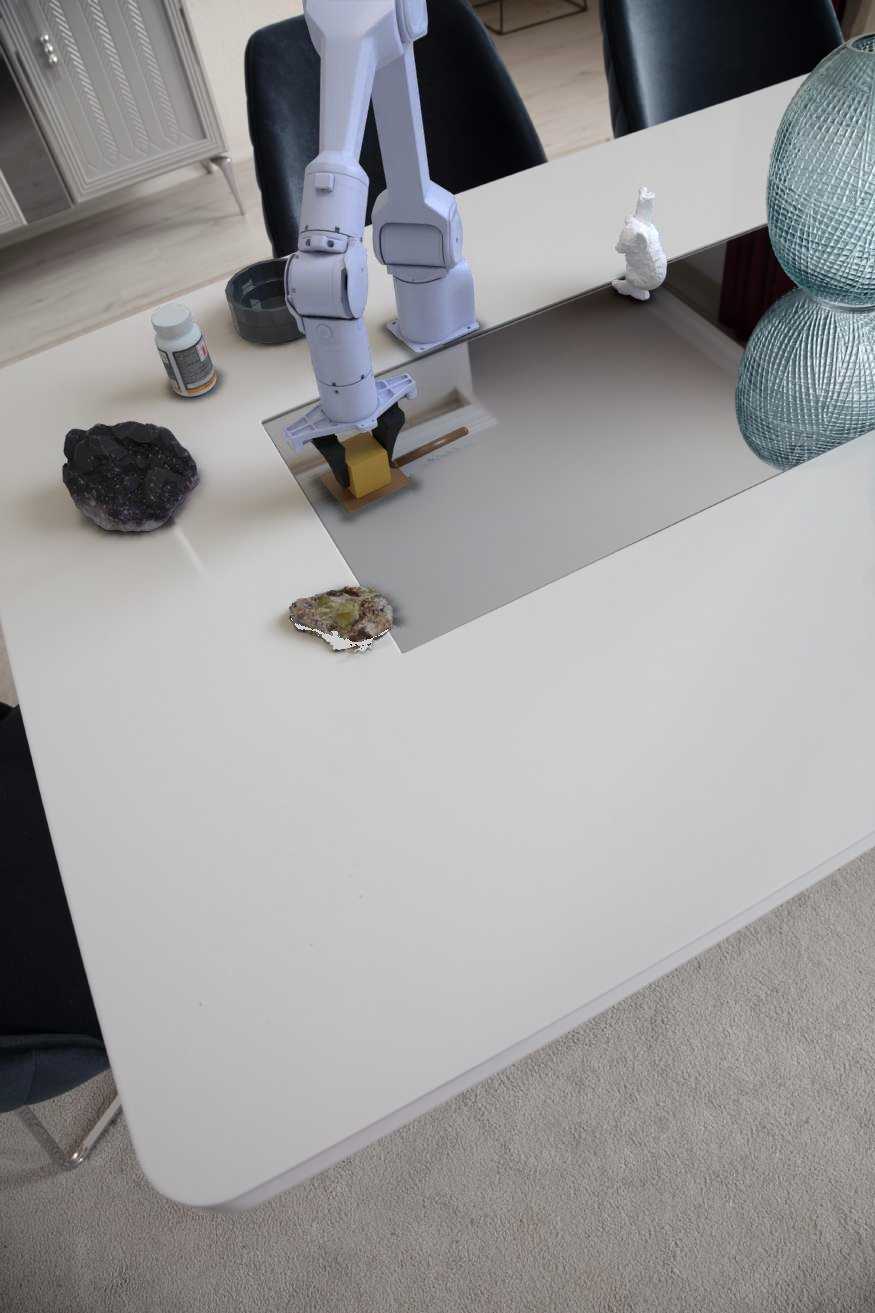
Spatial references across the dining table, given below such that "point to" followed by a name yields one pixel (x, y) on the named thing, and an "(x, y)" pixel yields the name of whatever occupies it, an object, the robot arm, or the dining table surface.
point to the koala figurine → (641, 251)
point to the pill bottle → (183, 350)
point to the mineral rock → (344, 613)
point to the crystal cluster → (127, 474)
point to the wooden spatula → (396, 474)
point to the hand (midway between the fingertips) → (363, 472)
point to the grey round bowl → (261, 302)
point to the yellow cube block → (366, 464)
